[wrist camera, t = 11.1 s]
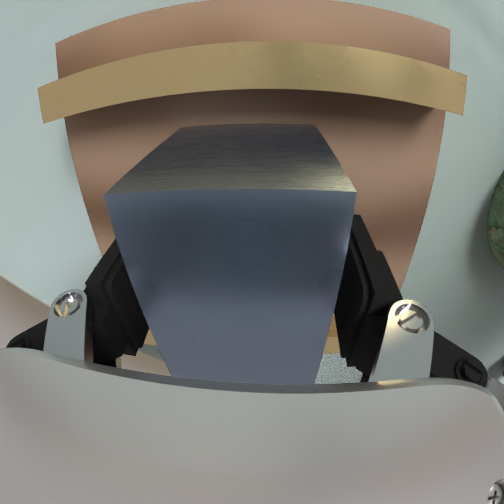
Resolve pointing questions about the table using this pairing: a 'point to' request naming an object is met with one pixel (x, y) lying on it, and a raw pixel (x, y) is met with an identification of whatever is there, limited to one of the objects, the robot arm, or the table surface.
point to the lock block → (237, 248)
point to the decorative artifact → (497, 223)
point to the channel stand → (266, 98)
